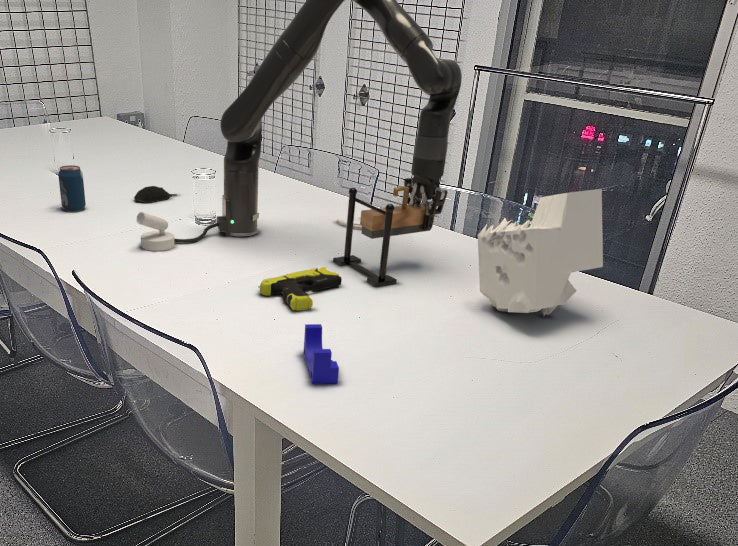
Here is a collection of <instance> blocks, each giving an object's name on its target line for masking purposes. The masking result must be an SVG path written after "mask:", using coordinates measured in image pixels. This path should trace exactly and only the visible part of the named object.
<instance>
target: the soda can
mask: <svg viewBox="0 0 738 546" xmlns="http://www.w3.org/2000/svg"><path fill="white" fill-rule="evenodd" d="M57 175H58V184H59V195H60V203H61V207H62V208H63V210H64V211H66V212H69V213H77V212H82V211H83V210H84V209H85V207H86V205H87V204H86V194H85V193H86V192H85V183H84V182H85V181H84V174H83V172H82V170H81V167H80V166H78V165H74V164H73V165H71V164H70V165H69V164H68V165H62V166H60V167H59V171H58V174H57Z"/></svg>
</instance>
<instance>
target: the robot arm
mask: <svg viewBox="0 0 738 546" xmlns="http://www.w3.org/2000/svg"><path fill="white" fill-rule="evenodd" d="M352 1H353V2H354V3H355V4H357V5H358V6H359V7H360V8H362V9H363V10H364V11H365V12H366V13H367V14H368V15H369V16H370V17H371V19H372V20H373V21H374V22H375V23H376V25H377V26H378V28H379V30H380V32H381V33H382V35H383V37H384V38H385V40H386V42H387V43H388V44H389V46H390V47H391V48H392V49H393V51H394V52H395V53H396V54H397V56H399V58H400V59H401V60H402V61H403V62H404V63H405V65H406V66H407V68H408V71H409V73H410V75H411V77H412V79H413V80H414V82H415V84H416V86H417V87H418V88H419V89H420V91H422V92H423V93H424V94H425V95H427V96H429V98H428V102H427V104H426V105H425V106H424V107H422V109H420V112H419V118H418V123H417V124H418V125H417V130H416V131H417V132H416V138H415V141H414V146H413V155H412V162H411V170H410V174H411V175H412V176H413V177H407V178H404V181H403V183H404V185H403V187H409V193H408V201H407V205H411V204H420V203H423V205H424V206H425V215H424V222H423V230H425V231H424V232H428V231H427V230H430V231H431V230H432V229H433V226H434V223H433V220H434V221H435V216H434V215H441V214H442V212H443V209H444V206H445V203H446V200H447V196H448V194H449V193H448V190H447V189H443V188H441V185H440V180H441V178H443V176H444V173H445V166H446V159H447V154H448V153H447V152H448V147H449V132H450V126H451V124H450V123H451V118H452V117H451V116H452V113H453V111H454V108H455V107H456V106H455V105H456V102H457V101H458V100H457V99H458V96H459V94H460V91H461V87H462V78H463V76H462V69H461V66H460V65H459V64H458V63H457V62H456V61H455V60H453V59H442V60H439V58H438V57H436V55H435V54H434V52H433V49H434V44H433V42H432V40H431V38H430V37H429V35H428V34H427V33H426V32H425V31H424V30H423V28H422V27H421V26H420V25H419V24H418V22H417V21H416V20H415V19H414V18H413V17H412V16H411V15H410V14H409V13H408V11H406V9H405V8H404V7H403V6H402V5H401V4H400V3H399V2H398V1H397V0H352ZM344 2H345V0H305V2H304V3H303V5H302V6H301V7H300V9H299V10H298V11H297V12H296V14H295V16H294V17H293V18H292V20H291V21H290V22H289V24H288V25H287V27H285V30H284V31H282V33H281V34H280V36H279V37H278V38H277V40H276V41H275V42H274V44H273V45H272V47H271V48H270V50H269V51H268V53H267V55H266V56H265V57H264V59H263V61H262V62H261V63H260V65H259V67H258V68H257V70H256V72H255V74H254V75H253V77H252V78H251V80H250V81H249V83H248V84H247V86H246V87H245V88H244V89H243V91H242V92H241V93H240V94H239V95H238V96H237V97H236V99H235V100H234V101H233V102H232V103H230V105H229V106H228V107H227V108H226V109H225V111H223V113H222V115H221V119H220V125H219V126H220V132H221V135H222V137H223V138H224V139H225V140H226V141H227V144H226V149H225V150H226V151H225V154H224V156H223V194H222V195H221V199H222V200H221V204H222V205H221V207H222V211H221V213H222V215H217V216H216V222H215V223H212V224H210V225H207V226H206V227H205V228H204V229H203V231H202V233H200V234H199V235H198V236H196V237H193V238H174V243H178V244H190V243H197V242H198V241H199V242H200V240H202V239H203V238H204V237H205V236H206V235H207V233H208V231H210V230H211V229H214V228H217V229H218V232H219V233H220V232H221V233H222V232H223V233H224V235H225V236H226V237H227V236H230V237H231V236H232V237H238V238H239V237H240V238H243V237H244V238H245V237H252V236H255V235H257V234H258V230H259V228H258V219H260V213H259V212H258V211H259V165H260V159H261V155H262V154H261V153H262V142H263V141H262V138H263V137H262V136H263V118H264V116H265V115H266V113H267V111H268V110H269V108H271V107H272V105H273V104H274V103H275V102H276V101H277V99H278V98H280V97H281V96H282V95H283V94H284V93H285V92H286V91H287V90H288V89H289V88H290V87H291V86H292V85H293V84H294V83H295V82H296V81H297V79H298V78H299V77H300V76H301V75H302V74H303V72H304V71H305V70H306V68H308V66H309V64H311V62H312V61H313V59H314V58H315V56H316V55H317V53H318V50H319V49H320V46H321V43H322V41H323V37H324V35H325V31H326V29H327V26H328V25H329V22H330V20H331V19H332V17H333V15H334V14H336V12H337V10H339V8H340V7H341V5H342V4H343V3H344ZM429 206H431V210H430V209H429Z"/></svg>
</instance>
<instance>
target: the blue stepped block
mask: <svg viewBox="0 0 738 546" xmlns="http://www.w3.org/2000/svg"><path fill="white" fill-rule="evenodd" d="M303 340H304V341H303V352H302V353H303V357H304V360H305V363H306V367H307V370H308V374H309V376H310V380H311V383H312V384H315V385H317V384H338V383H339V382H338V381H339V371H340V367H339V364H338V362H337V360H333V359H332V355H333V354H332V353H333V352H332V349H331V348H323V325H322V324H321V323H308V324H304V338H303Z"/></svg>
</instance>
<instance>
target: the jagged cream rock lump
mask: <svg viewBox="0 0 738 546" xmlns="http://www.w3.org/2000/svg"><path fill="white" fill-rule="evenodd" d="M510 222H511V220H508V221H507V218H506V217H504V218H503V219H502V220H501V222H500V223H499V224H498V225H497V226H496V227H495V228H494V226H495V225H494V224H491V225H490V226H489V227H488V229H487V226H488V223H486V224H485V225H484V226H483V228H482V229H481V231H480V232H479V233H477V255H478V278H479V293H481V294H482V295H483V296H484V297H485V298H487V299H488V300H489V301H490V302H491V306H492V307H494V308H495V309H496V310H497V311H498V312H508V313H523V314H529V313H537V312H539V311H542V313H543V317H545V316H549V315H550V314H551V313H552V312H553V311H554V310H555V309H556V308H558V306H559V305H560V306H562V305H565V304H566V303H567V302H568V301H569V300H570V298H572V296H573V295H574V294H576V292H577V291H578V290H577V289H576V288H575V287H574V285H573V284H572V283H571V282H570V280H569V278H570V276H571V274H572V273H577V272H583V271H587V270H593V269H599V268H603V267H604V247H603V246H604V245H603V243H604V242H603V237H604V236H603V190H602V188H597V189H588V190H580V191H578V190H577V191H570V192H564V193H557V194H553V195H552V194H551V195H546V196H540V197H539V200H538V203H537V206H536V209H535V211H534V214H533V216H532V219H531V221H530V219H529V220H527V221H525V222H524V223H523V224H517V223H518V221H515V222H511V223H510Z"/></svg>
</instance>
